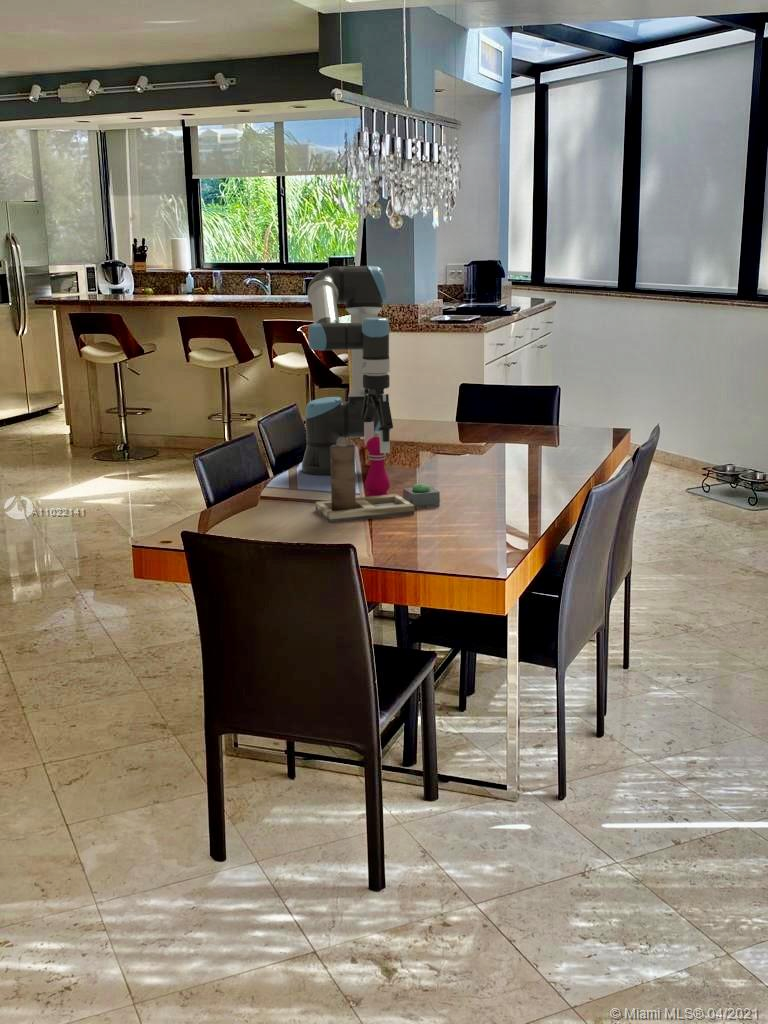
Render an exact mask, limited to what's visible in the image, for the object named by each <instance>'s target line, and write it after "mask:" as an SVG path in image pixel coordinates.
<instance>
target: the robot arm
mask: <svg viewBox="0 0 768 1024" xmlns="http://www.w3.org/2000/svg"><path fill="white" fill-rule="evenodd" d="M386 287H387V286H386V279H385V276H384V272H383V270H382V268H381V267H379V266H376V265H375V266H374V265H351V266H350V265H348V266H347V265H346V266H342V265H341V266H340V265H339V266H335V265H334V266H330V267H327V268H324V269H323V270H321V271H320V272H318V273H317V274H315V275H314V277H313V278H312V279H311V280H310V282H309V284H308V287H307V298H308V302H309V303H310V305H311V308H312V319H313V323H311V324H309V325H308V330H307V332H308V334H307V335H308V336H307V338H308V347H309V349H310V350H312V351H321V352H322V351H341V350H342V351H343V350H348V351H349V350H351V368H352V369H351V370H352V371H351V372H352V391H351V392H350V393H349V394H348V397H347V400H348V401H343V399H342V397H340V396H327V397H321V398H316V399H313V400H309V402H308V403H307V404H306V405H305V417H304V418H305V430H306V432H305V434H306V436H305V438H306V449H305V451H304V455H303V459H302V462H301V472H303V473H305V474H308V475H317V476H318V475H321V476H323V475H324V476H327V475H328V476H329V475H330V476H331V459H330V446H332V445H337V444H336V442H337V439H338V438H340V437H345V438H346V439H348V438H349V439H351V438H353V439H354V438H364V439H363V440H364V445H365V446H366V445H367V441H368V440H369V439H370V438H372V437H374V433H375V432H379V433H380V436H379V437H380V453H385V454H389V453H391V429H392V430H393V428H394V423H393V418H392V413H391V405H390V399H389V396H390V395H389V393H385V389H389V388H390V387H391V385H390V379H391V378H390V375H389V373H390V371H391V370H390V363H391V362H390V333H391V332H390V330H391V329H390V325H389V320H388V318H386V317H378V315H379V313H380V312H381V311H382V310H383V305H384V304H386V303H387V300H388V298H387V288H386ZM338 304H339V305H345V311H346V312H347V313H348V314H349V316H350V322H340V316H339V311H338Z"/></svg>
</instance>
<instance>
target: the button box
mask: <svg viewBox="0 0 768 1024" xmlns="http://www.w3.org/2000/svg"><path fill="white" fill-rule="evenodd" d="M440 497H441V494H440V491H439V490H437V489H435V488H434V487H431V486H430V490H429V491H426V492H416V491H413V486H412V487H404V488H402V498H403V499H405V500H407V501H408V502H410V503H411V504H413V505H414V509H418V508H417V507H422V508H428V507H427V506H432V507H439V505H441V503H440V501H441V499H440Z"/></svg>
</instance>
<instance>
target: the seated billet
mask: <svg viewBox="0 0 768 1024" xmlns="http://www.w3.org/2000/svg"><path fill="white" fill-rule="evenodd" d="M336 444H337V445H332V446H330V459H331V474H330V490H331V492H330V493H331V499H330V500H331V501H332V511H339V510H349V509H356V498H357V497H356V495H357V494H356V451H355V449H356V448H355V447H356V446H355V445H354V444H351V443H350V444H349V440H348V438H345V437H340V438H338V439H337V442H336Z"/></svg>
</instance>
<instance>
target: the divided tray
mask: <svg viewBox="0 0 768 1024" xmlns="http://www.w3.org/2000/svg"><path fill="white" fill-rule="evenodd" d="M315 511H316V512H317V513H318V514H319V513H320V514H321V515H320V514H319V515H320V516H322V517H323V518H324V519H325V520H326V521H327V520H328V523H330V524H334V523H341V522H342V523H343V522H352V521H354V522H355V521H361V520H373V519H380V518H391V516H393V517H401V516H402V515H403V516H409V515H410V514H412V515H415V508H414V505H413V504H411V503H410V502H408V501H407V500H405V499H403V496H401V495H399V494H397V493H393V494H392V493H391V494H388V495H380V496H370V497H367V496H362V497H356V509H349V510H339V511H332V501H331V499H330V500H320V501H315ZM403 516H402V517H403Z"/></svg>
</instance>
